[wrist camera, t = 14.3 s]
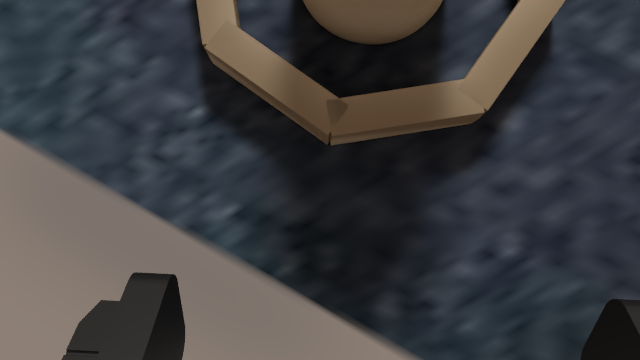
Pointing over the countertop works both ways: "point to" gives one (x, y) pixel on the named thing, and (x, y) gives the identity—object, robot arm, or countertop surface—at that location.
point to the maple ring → (375, 108)
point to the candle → (372, 18)
